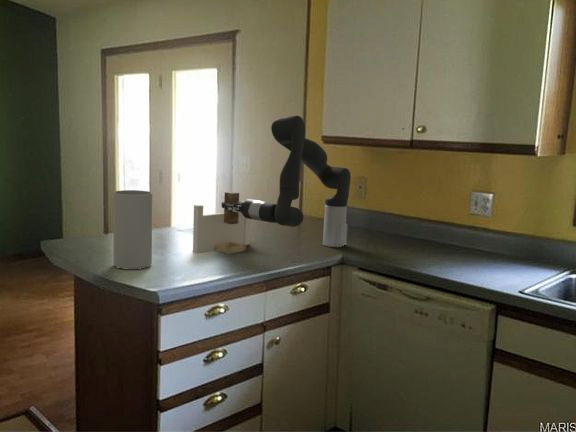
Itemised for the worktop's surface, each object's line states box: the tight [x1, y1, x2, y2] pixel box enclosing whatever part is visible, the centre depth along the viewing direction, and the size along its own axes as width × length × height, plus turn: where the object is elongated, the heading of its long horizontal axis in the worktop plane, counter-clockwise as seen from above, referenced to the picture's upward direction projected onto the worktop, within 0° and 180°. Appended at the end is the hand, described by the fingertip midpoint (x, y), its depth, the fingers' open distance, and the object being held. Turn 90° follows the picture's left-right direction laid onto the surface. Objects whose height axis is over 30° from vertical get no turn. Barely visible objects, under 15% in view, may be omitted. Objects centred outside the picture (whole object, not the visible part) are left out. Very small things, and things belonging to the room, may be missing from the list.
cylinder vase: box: [112, 189, 153, 270], centre depth 187 cm, size 12×12×25 cm
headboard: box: [192, 200, 251, 255], centre depth 218 cm, size 10×27×18 cm, turn 137°
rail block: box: [223, 191, 240, 224], centre depth 217 cm, size 4×4×12 cm
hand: (226, 204), depth 218 cm, fingers closed on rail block, 4 cm apart
